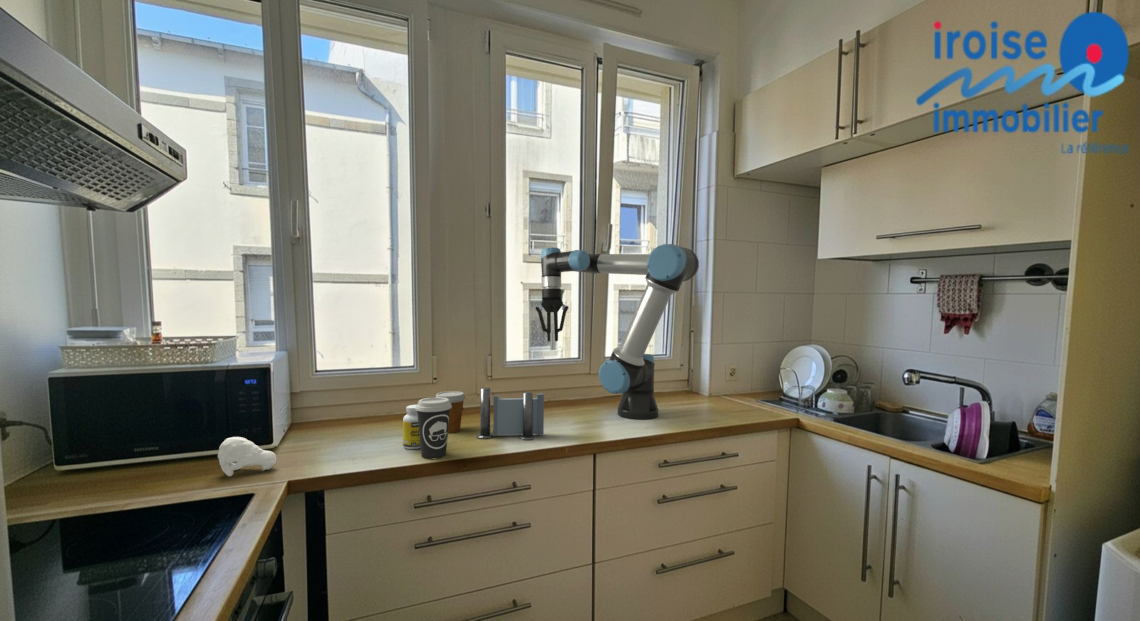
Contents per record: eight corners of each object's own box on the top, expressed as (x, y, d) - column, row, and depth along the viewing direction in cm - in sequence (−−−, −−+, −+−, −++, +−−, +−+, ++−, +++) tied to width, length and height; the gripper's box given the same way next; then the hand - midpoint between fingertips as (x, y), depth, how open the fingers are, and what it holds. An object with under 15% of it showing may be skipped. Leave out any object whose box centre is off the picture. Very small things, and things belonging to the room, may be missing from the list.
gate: (493, 435, 144) (493, 395, 144) (493, 433, 147) (493, 393, 146) (543, 434, 146) (543, 394, 146) (543, 432, 148) (543, 393, 148)
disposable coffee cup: (470, 430, 152) (470, 393, 152) (445, 436, 145) (445, 397, 145) (454, 424, 159) (454, 389, 158) (429, 430, 152) (429, 393, 151)
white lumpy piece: (226, 434, 116) (281, 434, 120) (223, 468, 116) (278, 468, 120) (216, 441, 110) (274, 441, 114) (212, 477, 110) (270, 477, 114)
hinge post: (495, 434, 148) (495, 387, 147) (491, 439, 143) (491, 390, 142) (479, 434, 148) (479, 386, 148) (474, 438, 143) (475, 389, 142)
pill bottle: (404, 451, 131) (404, 409, 131) (401, 444, 137) (401, 405, 136) (428, 447, 134) (428, 407, 134) (424, 441, 140) (424, 403, 139)
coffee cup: (456, 450, 132) (456, 397, 132) (444, 461, 123) (444, 404, 122) (424, 448, 133) (424, 396, 133) (409, 460, 124) (409, 403, 123)
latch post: (536, 435, 146) (536, 391, 146) (534, 440, 142) (534, 394, 141) (521, 435, 147) (521, 391, 146) (518, 440, 142) (518, 394, 142)
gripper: (569, 288, 183) (570, 348, 183) (535, 289, 184) (536, 349, 184) (568, 287, 176) (569, 350, 176) (533, 288, 176) (534, 351, 176)
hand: (553, 349), depth 180 cm, fingers closed
